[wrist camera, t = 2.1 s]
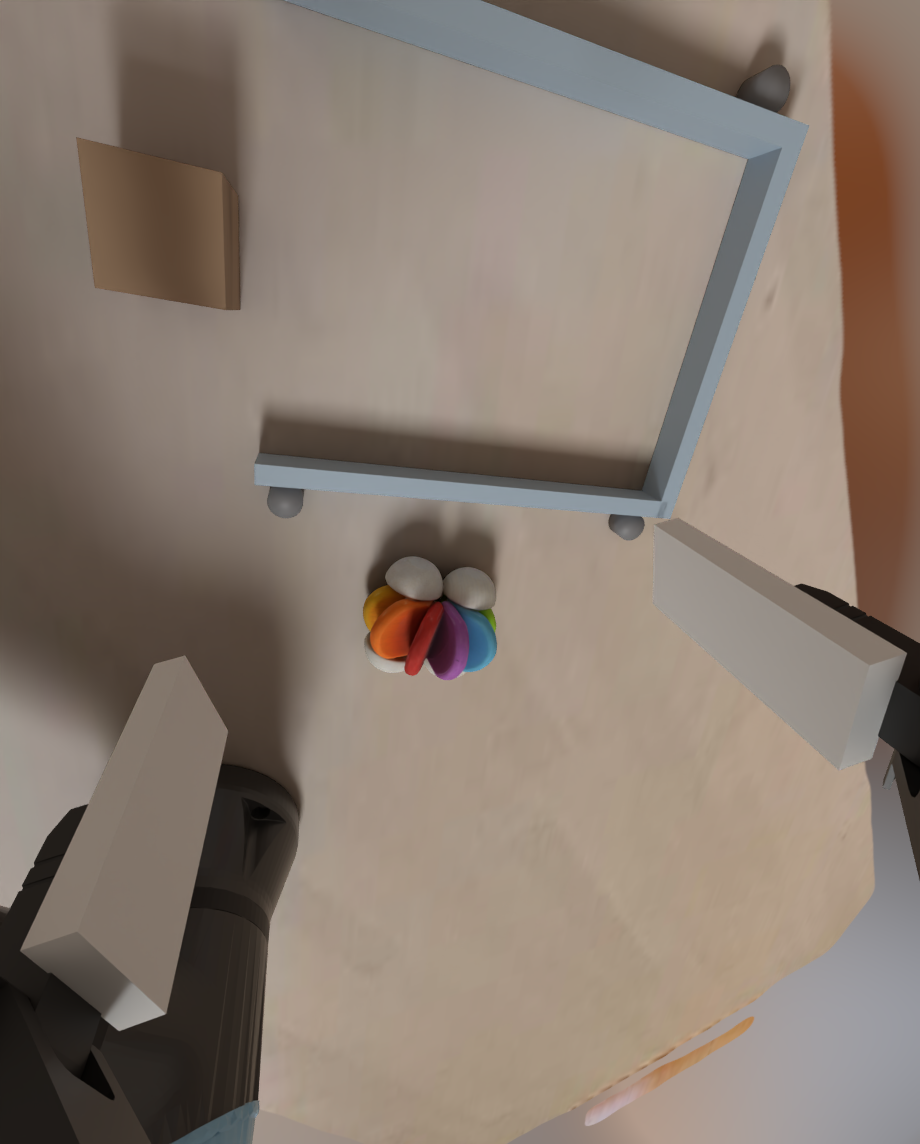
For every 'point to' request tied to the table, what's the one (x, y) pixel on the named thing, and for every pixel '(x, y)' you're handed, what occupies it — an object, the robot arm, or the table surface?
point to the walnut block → (160, 227)
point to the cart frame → (639, 92)
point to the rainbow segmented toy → (431, 620)
